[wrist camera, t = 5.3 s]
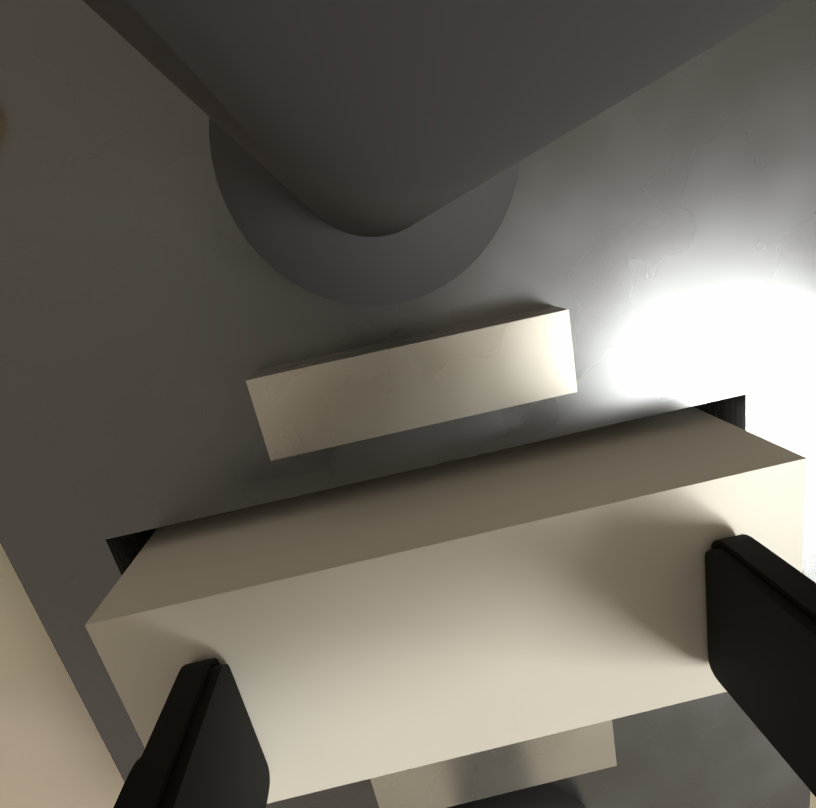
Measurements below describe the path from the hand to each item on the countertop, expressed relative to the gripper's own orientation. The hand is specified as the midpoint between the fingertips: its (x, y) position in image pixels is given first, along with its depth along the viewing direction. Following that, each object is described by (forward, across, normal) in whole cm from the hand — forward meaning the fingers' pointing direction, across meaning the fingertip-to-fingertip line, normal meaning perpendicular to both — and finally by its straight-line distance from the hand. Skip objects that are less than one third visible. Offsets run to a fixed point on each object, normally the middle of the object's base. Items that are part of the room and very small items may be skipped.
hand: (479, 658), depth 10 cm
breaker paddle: (+7, 0, 0) cm, 7 cm away
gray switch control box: (+8, 0, 0) cm, 8 cm away
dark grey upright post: (+2, 0, -9) cm, 9 cm away
